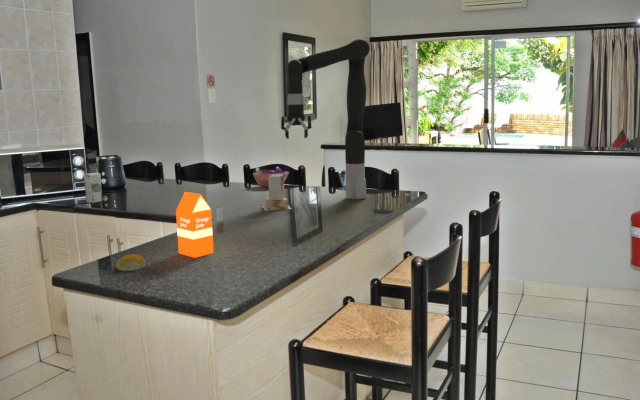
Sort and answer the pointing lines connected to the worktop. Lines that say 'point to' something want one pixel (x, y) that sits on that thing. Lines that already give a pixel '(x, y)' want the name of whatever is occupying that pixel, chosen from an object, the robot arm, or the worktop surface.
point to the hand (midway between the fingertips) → (296, 138)
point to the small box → (276, 187)
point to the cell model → (263, 176)
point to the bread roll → (130, 263)
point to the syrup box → (93, 187)
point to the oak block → (276, 204)
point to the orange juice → (194, 226)
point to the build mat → (277, 209)
